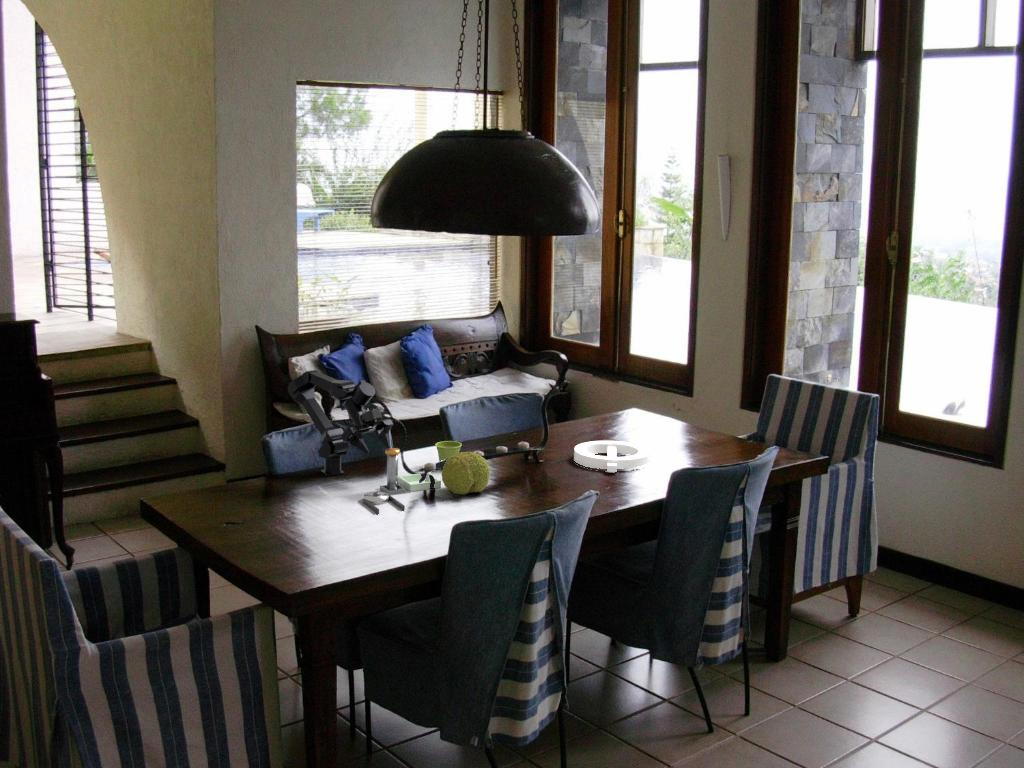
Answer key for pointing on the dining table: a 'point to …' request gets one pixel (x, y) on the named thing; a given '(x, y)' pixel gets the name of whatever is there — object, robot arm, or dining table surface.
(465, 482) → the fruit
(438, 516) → the dining table surface
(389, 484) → the lock pin
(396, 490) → the tensioner base
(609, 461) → the ring with crossbar
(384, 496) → the grey forked bracket
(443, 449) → the plant pot
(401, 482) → the tray
